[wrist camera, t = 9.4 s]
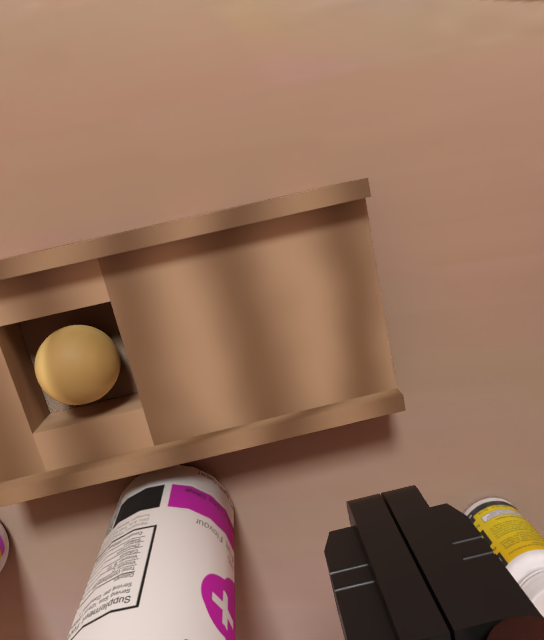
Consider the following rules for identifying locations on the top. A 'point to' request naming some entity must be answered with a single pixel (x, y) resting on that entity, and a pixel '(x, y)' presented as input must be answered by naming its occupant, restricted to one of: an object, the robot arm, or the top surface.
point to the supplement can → (164, 563)
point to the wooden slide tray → (202, 339)
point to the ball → (77, 364)
